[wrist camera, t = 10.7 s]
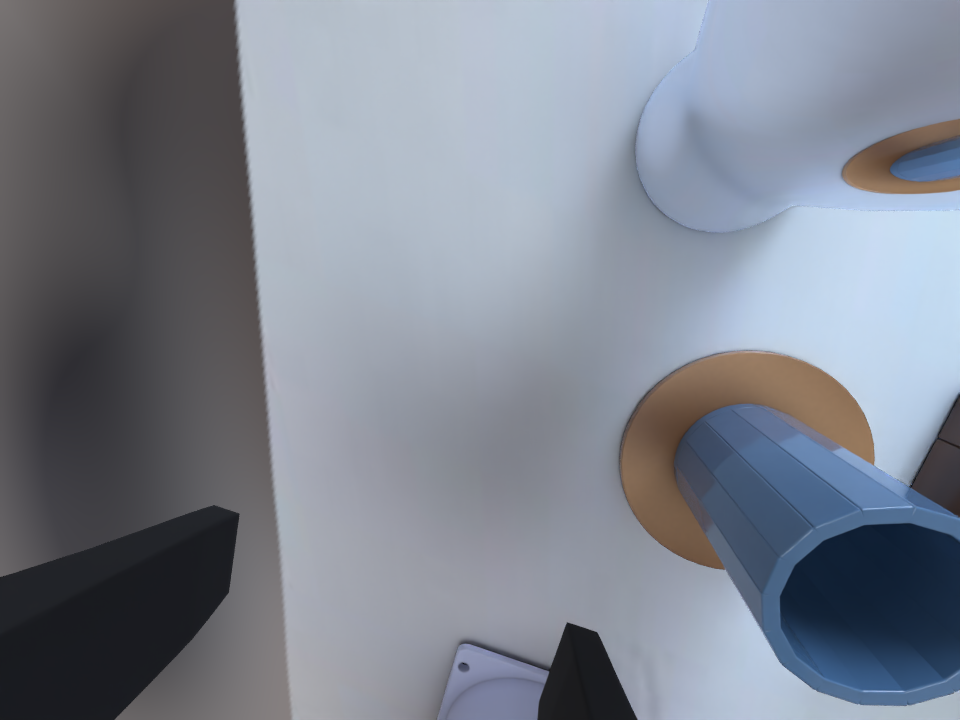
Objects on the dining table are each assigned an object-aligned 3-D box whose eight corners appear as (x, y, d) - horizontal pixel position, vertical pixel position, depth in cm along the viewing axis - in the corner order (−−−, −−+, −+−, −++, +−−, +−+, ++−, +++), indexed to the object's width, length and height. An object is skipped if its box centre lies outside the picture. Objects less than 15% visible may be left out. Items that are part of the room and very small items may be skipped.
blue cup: (782, 541, 17) (950, 736, 10) (655, 502, 18) (728, 662, 11) (837, 424, 16) (1071, 551, 9) (699, 387, 17) (816, 478, 9)
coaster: (808, 593, 18) (814, 600, 18) (591, 526, 19) (592, 531, 18) (911, 388, 16) (921, 391, 16) (662, 322, 17) (664, 324, 16)
